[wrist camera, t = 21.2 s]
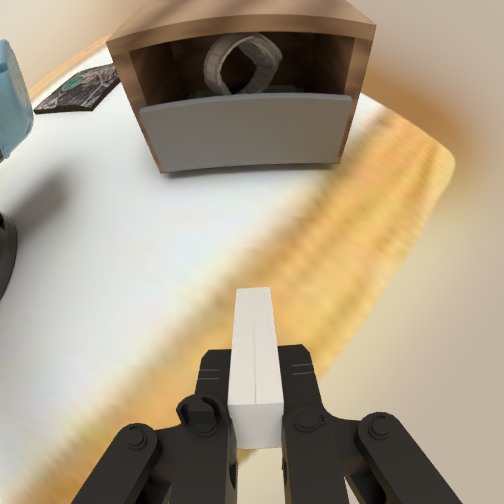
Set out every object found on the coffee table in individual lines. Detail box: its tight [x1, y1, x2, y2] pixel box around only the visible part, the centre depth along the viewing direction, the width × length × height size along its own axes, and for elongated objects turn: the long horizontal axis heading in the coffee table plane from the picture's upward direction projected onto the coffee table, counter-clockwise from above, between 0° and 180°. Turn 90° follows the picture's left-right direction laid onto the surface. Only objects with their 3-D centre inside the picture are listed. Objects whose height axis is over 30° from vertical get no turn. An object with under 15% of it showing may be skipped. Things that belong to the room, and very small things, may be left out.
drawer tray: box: [139, 85, 353, 173], centre depth 27 cm, size 18×13×8 cm
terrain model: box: [33, 63, 121, 114], centre depth 40 cm, size 20×15×3 cm
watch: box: [204, 32, 282, 96], centre depth 24 cm, size 6×8×11 cm
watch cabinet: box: [106, 0, 376, 173], centre depth 24 cm, size 20×14×17 cm
